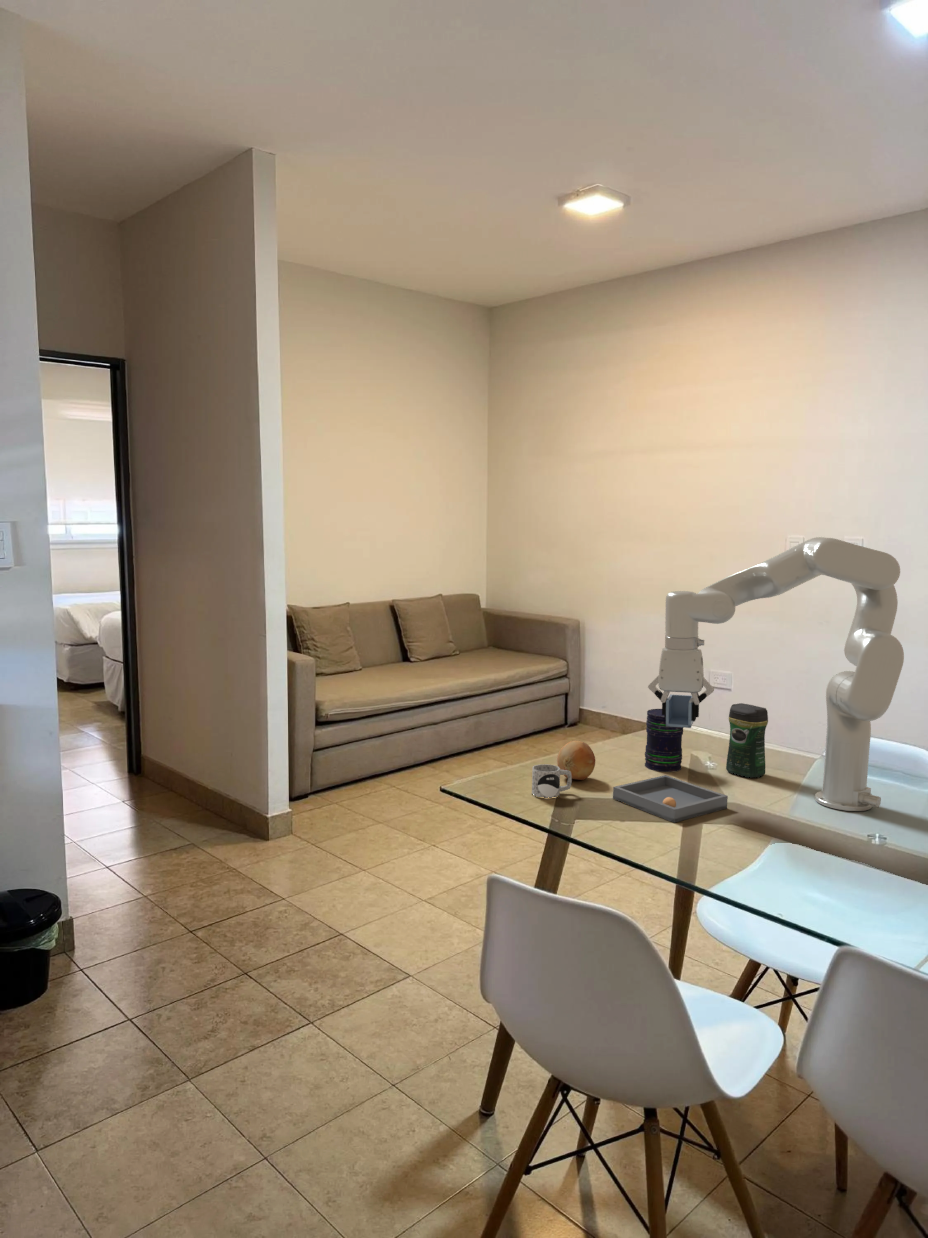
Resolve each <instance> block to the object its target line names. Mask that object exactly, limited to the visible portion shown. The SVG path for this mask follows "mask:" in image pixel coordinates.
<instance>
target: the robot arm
mask: <svg viewBox="0 0 928 1238" xmlns="http://www.w3.org/2000/svg"><path fill="white" fill-rule="evenodd" d="M819 576H826V577H830V578H832V579H836V580H838V581H843V582H846V583H849V584H851V585H852V587H853V588H854V591H855V593H856V606H855V607H856V608H855V612H854V616H853V619H852V622H851V626H850V629H849V633H848V634H847V637H846V640H845V643H844V649H843V651H844V655H845V659H846V660H847V661H848V662H849V663H851V664H852V665H853V666H855V670H854V671H850V670H849V671H848V670H845V671H841V672H837V673H836V674H835V675H833V676H832V677H831V678H830V680H829V681H828V683H827V685H826V690H825V703H826V736H825V748H824V749H825V752H824V764H823V780H822V790H820V791H817V792H816V793H815V795H814V800H815V801H816V802H817V803H819V804H820V805H821V806H824V807H827V808H831V809H833V810H834V809H835V810H839V811H847V812H863V811H864V812H865V811H868V810H871V809H872V808H873V807H875V808H879V807H880V806H881V802H882V797H881V796H878V795H873V794H872V793H871V792H872V788H871V787H868V786H867V784H868V773H869V761H870V760H869V759H870V747H871V746H870V745H871V738H872V737H871V736H872V733H871V732H872V731H871V730H872V727H871V726H872V724H871V722H872V721H875V720H876V721H877V720H878V719H880V718H882V717H883V715H885V713H886V712H887V711H888V710H889V707H890V705H891V703H892V700H893V697H894V694H895V691H896V688H897V685H898V682H899V679H900V676H901V672H902V670H903V666H904V662H905V653H904V648H903V645H902V643H901V642H900V640H899V639H898V638H897V637H895V636H894V635H893V634H892V631H893V627H894V624H895V620H896V615H897V612H898V601H899V600H898V594H897V590H896V588H895V587H896V586H895V584H896V583H897V582H898V580H899V578H900V576H901V566H900V563H899V561H898V560H897V558H895V557H894V556H893V555H892V554H890V553H888V552H886V551H885V552H884V551H881V550H877V549H873V548H870V547H867V546H866V547H865V546H861V545H858V544H855V543H852V542H851V543H850V542H847V541H844V540H842V539H841V540H840V539H837V538H833V537H825V536H824V537H822V536H821V537H819V536H818V537H817V536H816V537H812V538H810V539H808V540H805V541H803V542H801V543H799V544H797V545H795V546H793V547H791V548H789V549H787V550H785V551H782V552H781V553H779V554H778V555H775V556H773V557H771V558H768V559H766V560H765V561H762V562H760V563H758V564H755V565H753V566H750V567H749V568H746V569H743V570H741V571H739V572H736V573H733V574H730V575H729V576H726V577H724V578H722V579H720V580H718V581H716V582H714V583H712V584H710V585H708V586H706V587H704V588H702V589H701V590H699V592H697V593H696V592H694V591H688V590H687V591H686V590H677V591H671V592H668V593H667V594H666V595H665V613H664V614H665V617H664V618H665V621H664V625H665V628H664V629H665V630H664V631H665V633H664V635H665V637H664V647H663V648H661V649H662V650H661V653H660V658H659V659H660V660H659V669H658V675H657V676H656V677H655V678H654V679H653V680H652V681H651V682H650V683H649V684H648V685H647V688H648V689H649V691H651V692H652V693H653V694H654V696H655V697H657V699H659V700H660V702H661V709H662V715H664V719H665V720H666V701H667V699H668V697H669V696H670V693H671V692H672V693H673V692H674V693H689V694H690V696H692V698H693V705H692V721H694V722H696V720H697V718H699V716H700V704H701V703H702V702H703V701H705V699H706V698H707V697H709V696H710V695H711V694H712V693H714V691H715V688H714V687H713V686H712V684H710V682H709V681H708V680H707V679H706V678H705V677H704V673H705V672H704V660H703V653H702V649H700V648H699V647H701V646H705V639H701V638H700V637H699V623H708V624H717V625H718V624H724V623H727V622H729V621H730V620H731V619H732V618H733V617H734V615H735V612H736V607H737V606H739V605H743V604H745V603H748V602H751V601H753V600H754V601H756V600H759V599H767V598H768V599H769V598H774V597H777V596H781V595H783V594H785V593H787V592H788V591H791V590H792V589H794V588H797V587H798V586H800V585H802V584H804V583H806V582H809V581H811V580H813V579H815V578H817V577H819ZM657 685H658V688H657ZM703 688H705V690H704V691H703V692H702V693H701V694H700V695H699V693H700V692H701V691H702V689H703ZM662 691H663V692H662Z"/></svg>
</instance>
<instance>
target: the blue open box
mask: <svg viewBox="0 0 928 1238" xmlns="http://www.w3.org/2000/svg"><path fill="white" fill-rule="evenodd" d="M692 705H693V698H692V695H691V694H690V695H688V694H687V695H686V694H670V693H669V695H668V699H667V701H666V726H670V727H684V728H685V729H691V728H692V726H693V724H694V722H695V721H692ZM684 728H683V729H684Z"/></svg>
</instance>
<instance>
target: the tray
mask: <svg viewBox="0 0 928 1238" xmlns="http://www.w3.org/2000/svg"><path fill="white" fill-rule="evenodd" d="M612 788H613V789H612V799H613V800H614V799H616V800H615V801H617V800H618V801H617V802H619V801H621V802H620V803H622V802H624V803H626V804H625V805H627V804H628V805H627V806H629V805H630V807H633V808H635V809H638V810H640V811H643V812H645V813H648V814H650V815H653V816H655V817H659V818H661V819H663V820H666V821H668V822H671V823H673V824H674V823H679V822H682V821H686V820H689V819H693V818H697V817H700V816H704V815H708V814H712V813H714V812H718V811H722V810H725V809H727V808H728V800H729V799H728V795H726V794H724V793H720V792H717V791H714V790H711V789H709V788H705V787H702V786H699V785H697V784H693V783H692V782H691V783H690V782H687V781H685V780H681V779H680V778H679V779H678V778H675V777H672V776H669V775H667V774H666V775H661V776H655V777H651V778H648V779H642V780H639V781H638V780H637V781H633V782H630V783H629V782H628V783H625V784H621V785H620V784H619V785H616V786H613V787H612ZM667 797H671V798H673V799H674V800H675V801H676V807H675V808H674V807H671V806H669V805H666V804H663V800H664V799H665V798H667ZM624 803H623V804H624Z"/></svg>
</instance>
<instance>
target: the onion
mask: <svg viewBox="0 0 928 1238" xmlns="http://www.w3.org/2000/svg"><path fill="white" fill-rule="evenodd" d="M556 758H557V759H556V761H557V763H556V764H557V765H556V766H558V767H559V768H560V770H568V771H570V772H571V776H572V780H576V781H584V780H586V779H587V778H588V777H590V776H591V775H592V773H593V771H594V769H595V766H596V756H595V753H594V751H593V749H592V748H591V746H590V745H589V744H587V743H586V742H585V741H580V740H573V739H572V740H570V741H569V742H567V743H566V744H564V745H563V746H562V747H561V748H560V749H559V751H558V755H557V757H556ZM563 776H564V777H565V778H567V779H568V777H567V775H566V774H564V775H563Z"/></svg>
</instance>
